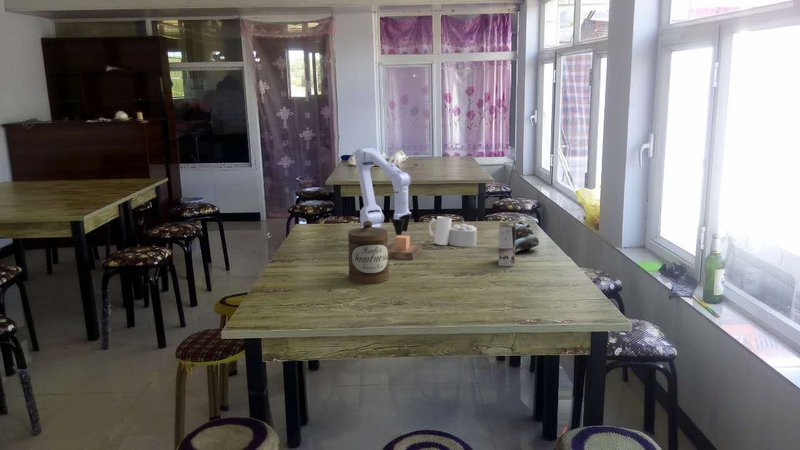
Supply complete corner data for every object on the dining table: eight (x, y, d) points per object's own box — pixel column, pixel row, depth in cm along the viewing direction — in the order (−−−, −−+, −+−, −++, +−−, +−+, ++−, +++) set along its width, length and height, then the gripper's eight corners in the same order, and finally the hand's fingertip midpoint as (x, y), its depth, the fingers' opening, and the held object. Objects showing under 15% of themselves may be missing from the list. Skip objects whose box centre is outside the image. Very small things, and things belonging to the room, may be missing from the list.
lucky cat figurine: (507, 254, 273) (497, 224, 276) (506, 258, 285) (497, 229, 288) (541, 244, 272) (531, 214, 275) (539, 249, 284) (530, 220, 287)
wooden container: (353, 285, 232) (352, 226, 227) (345, 274, 246) (344, 218, 241) (393, 282, 236) (392, 223, 231) (383, 271, 250) (382, 216, 245)
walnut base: (381, 257, 271) (380, 250, 270) (391, 249, 284) (391, 243, 283) (412, 260, 266) (412, 253, 266) (422, 252, 279) (422, 245, 279)
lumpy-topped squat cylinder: (475, 247, 287) (476, 228, 285) (446, 245, 289) (447, 227, 287) (476, 241, 297) (477, 223, 295) (448, 240, 299) (448, 222, 297)
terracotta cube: (394, 248, 273) (394, 237, 272) (398, 246, 277) (398, 234, 276) (406, 249, 271) (406, 238, 270) (409, 247, 276) (409, 235, 275)
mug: (449, 243, 295) (453, 218, 293) (446, 246, 288) (450, 220, 286) (428, 239, 297) (431, 214, 295) (425, 242, 291) (428, 216, 289)
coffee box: (514, 266, 255) (515, 227, 252) (498, 266, 256) (499, 226, 253) (515, 260, 264) (516, 222, 261) (499, 260, 265) (500, 221, 262)
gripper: (405, 205, 263) (405, 237, 266) (415, 199, 277) (415, 230, 279) (388, 204, 265) (389, 236, 268) (400, 198, 279) (400, 229, 282)
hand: (401, 232), depth 274 cm, fingers open, 7 cm apart
